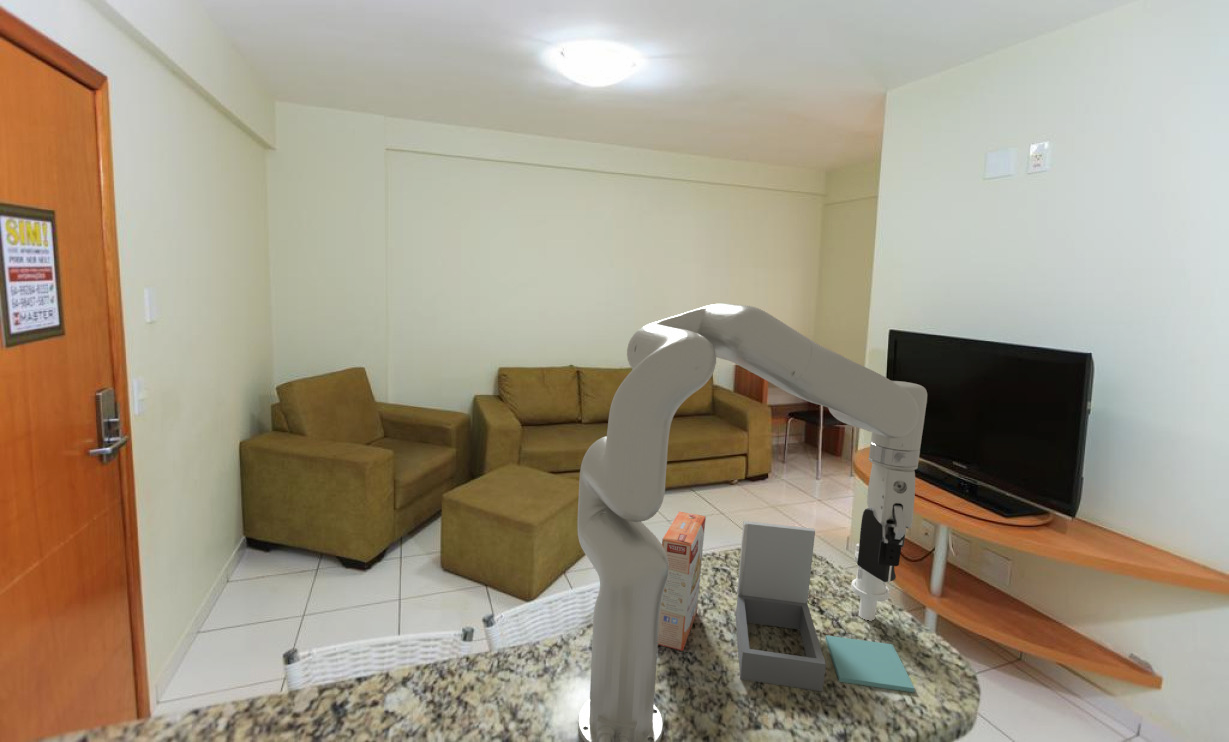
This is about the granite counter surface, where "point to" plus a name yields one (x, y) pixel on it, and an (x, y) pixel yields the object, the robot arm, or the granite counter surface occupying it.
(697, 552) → the cracker box
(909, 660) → the granite counter surface
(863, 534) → the battery charger
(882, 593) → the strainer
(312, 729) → the granite counter surface
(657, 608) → the robot arm
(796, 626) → the case
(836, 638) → the mat
